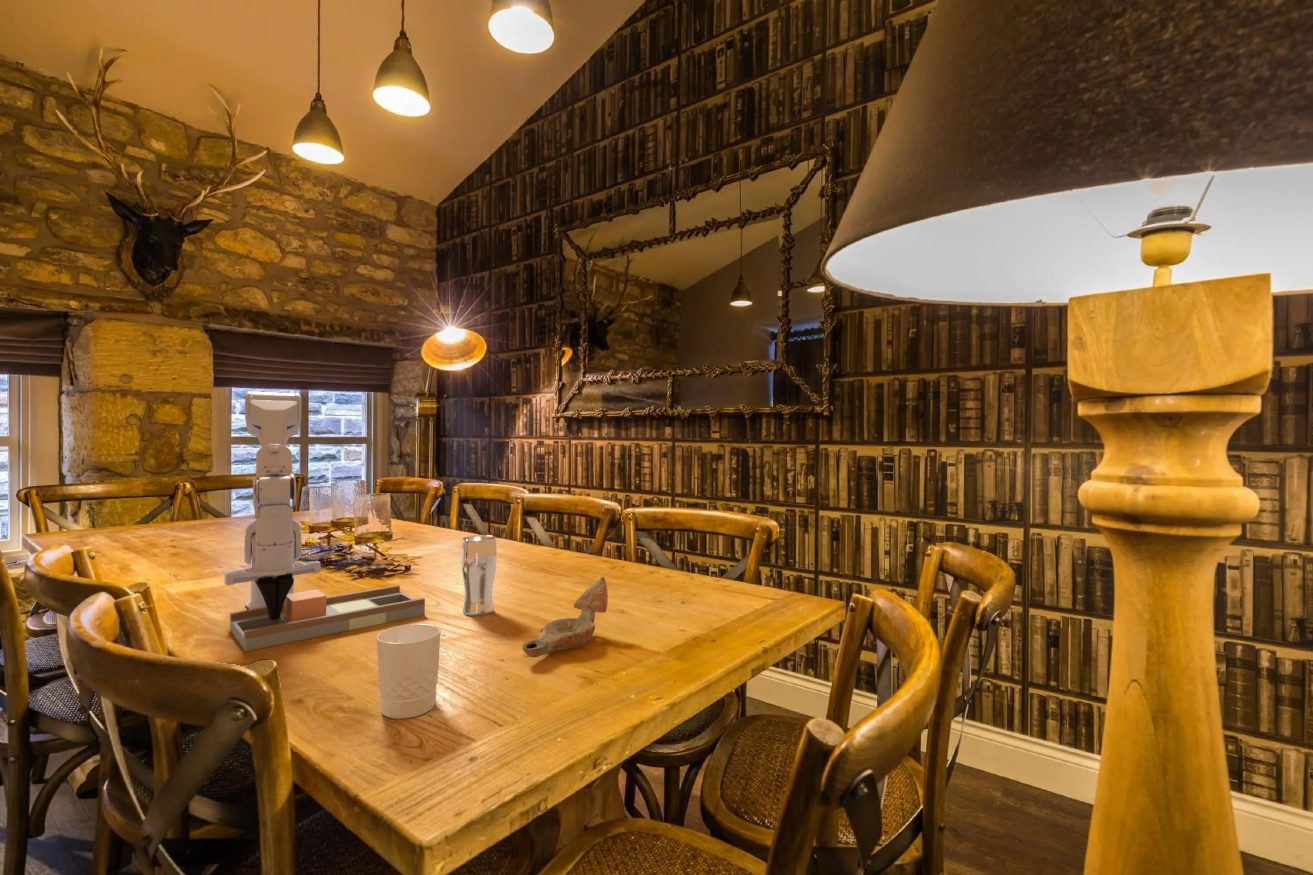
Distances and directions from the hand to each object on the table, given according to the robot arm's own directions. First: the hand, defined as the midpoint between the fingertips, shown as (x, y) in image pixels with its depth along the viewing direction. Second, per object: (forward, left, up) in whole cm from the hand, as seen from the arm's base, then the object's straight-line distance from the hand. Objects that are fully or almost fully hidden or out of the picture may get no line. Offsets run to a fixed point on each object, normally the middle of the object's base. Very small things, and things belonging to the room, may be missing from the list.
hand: (274, 618), depth 110 cm
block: (0, +5, -1) cm, 5 cm away
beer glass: (+12, +33, -3) cm, 36 cm away
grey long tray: (0, +9, -3) cm, 10 cm away
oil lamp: (+40, +35, -3) cm, 54 cm away
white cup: (+45, +6, -3) cm, 46 cm away
